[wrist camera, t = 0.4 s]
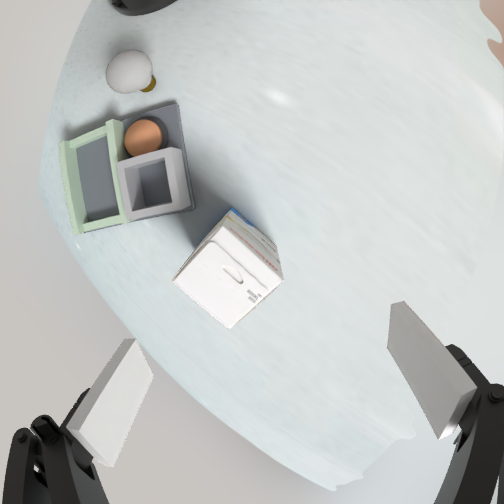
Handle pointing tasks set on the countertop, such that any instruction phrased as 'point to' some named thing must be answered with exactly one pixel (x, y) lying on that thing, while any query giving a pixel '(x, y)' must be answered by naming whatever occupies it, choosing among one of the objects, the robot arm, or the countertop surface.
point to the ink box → (231, 270)
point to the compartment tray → (125, 174)
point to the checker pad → (143, 138)
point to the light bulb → (130, 72)
